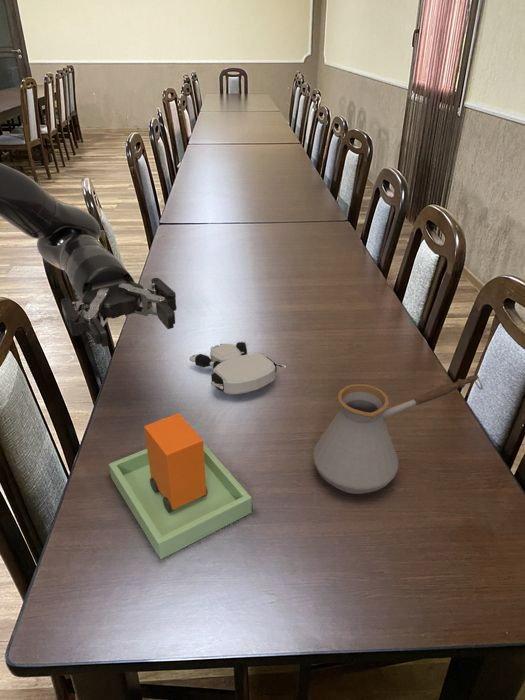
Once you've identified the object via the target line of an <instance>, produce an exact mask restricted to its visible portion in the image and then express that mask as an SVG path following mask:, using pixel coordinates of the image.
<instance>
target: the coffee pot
mask: <svg viewBox="0 0 525 700" xmlns="http://www.w3.org/2000/svg"><path fill="white" fill-rule="evenodd" d="M477 381H478V382H477ZM473 383H475V386H476V387H477V388H478V389H479V390H483V389H484V386H483V384H482V381H481V380H480V377H479V375H478V374H473V375H469V376H467V377H466V378H464V379H462V378H458V379H457V381H456V382H451V383H447V384H444V385H439V386H438V387H436V388H434V389H432V390H429V391H428V392H425V393H423V394H421V395H418V396H417V397H415V398H413V399H411V400H408V401H405V402H403V403H401V404H398V405H395V406H392V407H390V408H388V407H389V405H390V400H389V397H388V396H387V394H386V393H385V392H384V391H383V390H381V389H380V388H378V387H376V386H373V385H370V384H365V383H354V384H349V385H346V386H344V387H343V388H341V389H340V390H339V392H338V393H337V401H338V404H339V405H340V407H341V408H340V409H339V411H338V412H337V413H336V415H335V417H334V418H333V419H332V420H331V422H330V424H329V425H328V426H327V427H326V429H325V431H324V432H323V433H322V435H321V437H320V438H319V439H318V440H317V442H316V444H315V445H314V449H313V451H312V458H313V464H314V466H315V469H317V472H318V474H319V475H320V477H321V478H322V479H324V481H326V482H327V483H328V484H329V485H331V486H333V487H334V488H336V489H338V490H340V491H342V492H345V493H348V494H353V495H355V494H356V495H359V494H361V495H362V494H367V493H372V492H373V493H374V492H377V491H378V490H381V489H383V488H385V487H386V486H387V485H388V484H390V482H391V481H393V479H394V478H395V477H396V475H397V472H398V470H399V458H398V455H397V452H396V449H395V447H394V444H393V440H392V438H391V435H390V432H389V430H388V429H389V428H388V427H387V424H386V422H385V419H387V418H389V417H392V416H394V415H396V414H398V413H400V412H403V411H405V410H408V409H410V408H412V407H414V406H418V405H422V404H424V403H428V402H430V401H433V400H435V399H438V398H441V397H442V398H443V397H444V396H446V395H449V394H450V393H452V392H454V391H455V390H457V389H459V388H460V389H463V388H465V387H466V385H468V384H473Z"/></svg>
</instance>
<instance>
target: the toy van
mask: <svg viewBox="0 0 525 700" xmlns="http://www.w3.org/2000/svg"><path fill="white" fill-rule="evenodd" d="M143 428H144V436H145V437H144V438H145V444H146V449H147V452H148V459H149V467H150V474H151V478H150V485H151V487H152V489H153V491H154V492H155V493H157V492H159V491H160V493H161V494H162V496H163V497H164V498H163V503H164V506H165V509H166V510H167V512H168V513H170V512H172V511H174V510H175V509H176V508H178V507H181V506H183V505H185V504H187V503H189V502H191V501H193V500H195V499H198V498H200V497H204V496H206V495H207V494H208V491H207V488H206V480H205V464H204V447H203V443H204V440H203V438H202V437H201V436H200V435H199V434H198V433H197V432H196V430H195V429H194V428H193V427H192V426H191V424H189V422H187V420H186V419H185V418H184V417H183V416H182V415H181V413H179V412H178V413H175V414H172V415H170V416H168V417H164V418H162V419H160V420H157V421H154V422H152V423H151V422H150V423H148V424H146V425H144V426H143Z"/></svg>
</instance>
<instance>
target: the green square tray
mask: <svg viewBox="0 0 525 700" xmlns="http://www.w3.org/2000/svg"><path fill="white" fill-rule="evenodd" d="M203 447H204V464H205V480H206V488H207V491H208V494H207V495H206V496H204V497H200V498H198V499H195V500H193V501H191V502H189V503H187V504H185V505H183V506H181V507H178V508H176V509H175V510H174V511H172V512H170V513H168V512H167V510H166V509H165V506H164V503H163V498H164V497H163V496H162V494H161V493H160V491H159V492H157V493H155V492H154V491H153V489H152V487H151V485H150V478H151V474H150V467H149V459H148V452H147V448H144V449H142V450H140V451H138V452H135V453H133V454H130V455H128V456H125V457H122V458H119V459H117V460H115V461H112V462H110V463H108V466H109V472H110V478H111V480H112V482H113V483H114V485H115V487H116V488H117V490H118V491H119V494H120V495H121V496H122V499H123V500H124V502H125V504H126V505H127V507H128V508H129V510H130V511H131V513H132V515H133V516H134V518H135V520H136V521H137V523H138V525H139V526H140V528H141V530H142V531H143V533H144V535H145V536H146V538H147V540H148V541H149V543H150V544H151V546H152V548H153V549H154V551H155V553H156V554H157V557H158V558H159V559H160V560H163V559H164V558H167V557H168V556H170V555H172V554H174V553H176V552H178V551H180V550H182V549H184V548H186V547H188V546H190V545H192V544H193V543H195V542H197V541H199V540H201V539H203V538H205V537H207V536H209V535H211V534H213V533H215V532H217V531H219V530H221V529H223V528H225V527H227V526H228V525H230V524H232V523H234V522H236V521H238V520H240V519H242V518H244V517H246V516H248V515H250V514H252V512H253V511H252V504H253V503H252V502H253V501H252V500H253V499H252V496H251V495H250V494H249V493H248V492H247V491H246V489H245V487H243V486H242V485H241V484H240V482H238V480H237V479H236V478H235V477H234V476H233V474H232V473H230V471H229V470H228V469H227V468H226V467H225V466H224V464H223V463H222V462H221V461H220V459H219V458H218V457H217V456H216V455H215V454H214V453H213V452H212V450H211V449H210V448H209V447H208V446H207V445H206V443H204V442H203Z"/></svg>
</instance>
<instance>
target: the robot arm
mask: <svg viewBox="0 0 525 700" xmlns="http://www.w3.org/2000/svg"><path fill="white" fill-rule="evenodd" d="M0 218H1V219H3V220H4V221H6V222H7V223H8V224H10V225H12V226H13V227H15V228H16V229H18V230H19V231H21V233H23V234H24V235H26V236H28V237H30V238H33V239H37V241H36V249H37V251H38V253H39V255H40V256H41V258H43V259H44V260H45V261H46V262H47V263H49V264H50V265H52V266H54V267H55V268H57V269H60V270H62V271H64V272H65V274H66V275H67V276H68V279H69V282H70V284H71V287H72V289H73V290H74V291H75V292H76V294H77V295H78V297H79V298H80V300H78V301H72V300H71V298H70V297H64V298H61V300H60V304H61V308H62V309H61V310H62V313H63V317H64V318H63V319H64V320H65V322H66V325H67V327H68V329H69V332H70V334H71V336H72V337H78V336H80V335H82V333H86V334H87V335H88V336H90V338H91V340H92V341H93V343H94V344H95V345H100V346H101V347H102V348H105V347H108V346H110V345H109V338H108V333H107V330H106V328H105V325H106V324H107V322H108V321H109V319H111V320H112V319H117V318H119V317H122V316H128V315H132V314H136V315H140V316H144V317H148V316H149V315H152V316H157V318H158V319H159V321H160V322H161V324H163V325H164V327H165V328H166V329H167V330H171V329H174V327H175V326H174V325H175V324H176V311H177V300H176V297H177V296H176V295H177V293H176V292H175V291H174V290H173V289H172V288H171V287H169V285H168V284H166V283H165V282H164V281H163V280H161V278H159V277H154V278H151V283H150V284H146V285H141V284H140V283H137V282H136V281H135V279H134V278H133V277H132V275H131V274H130V273H129V272H128V270H127V269H126V268H125V267H124V265H122V263H121V262H120V261H119V260H118V258H116V256H115V255H114V254H112V253H111V252H110V251H109V250H108V249H106V248H105V246H104V245H103V244H102V243H101V242H100V240H99V239H100V238H101V227H100V224H99V222H98V220H97V219H96V218H95V217H94V216H93V215H92V214H90V213H89V212H88V211H86V210H85V209H83V208H81V207H78V206H75V205H73V204H70V203H67V202H64V201H62V200H59V199H57V198H55V197H54V196H53V195H51V194H50V193H49V192H48V191H47V190H46V189H44V187H42V186H41V185H40V184H38V183H37V182H36V181H35V180H34V179H32V178H31V177H29V176H28V175H26V174H25V173H23V172H21V171H19V170H17V169H14V168H13V167H10V166H8V165H6V164H4V163H1V162H0ZM153 304H155V306H153ZM141 305H142V306H141ZM82 311H84V312H86V313H85V315H84V316H83V317H79V315H81V312H82Z"/></svg>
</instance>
